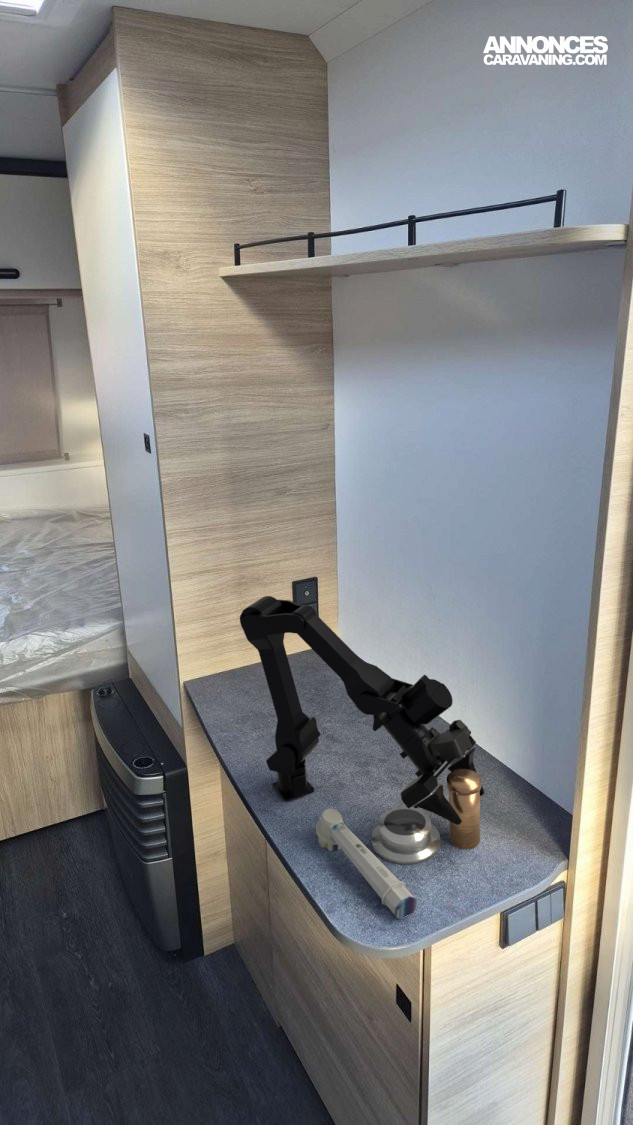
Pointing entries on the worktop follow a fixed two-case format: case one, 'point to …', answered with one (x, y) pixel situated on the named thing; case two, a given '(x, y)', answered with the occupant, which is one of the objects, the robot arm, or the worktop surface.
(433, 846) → the ring
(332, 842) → the grey piece
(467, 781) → the copper capped cylinder
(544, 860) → the worktop surface
